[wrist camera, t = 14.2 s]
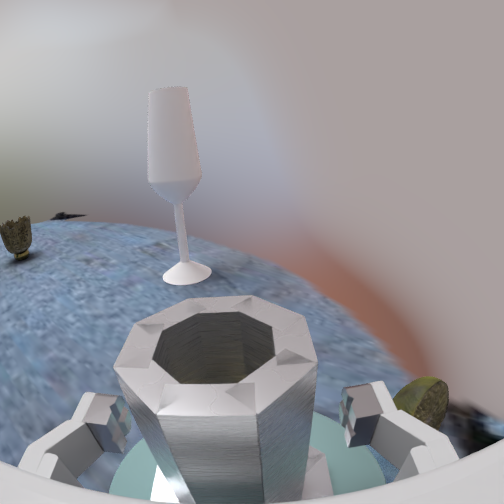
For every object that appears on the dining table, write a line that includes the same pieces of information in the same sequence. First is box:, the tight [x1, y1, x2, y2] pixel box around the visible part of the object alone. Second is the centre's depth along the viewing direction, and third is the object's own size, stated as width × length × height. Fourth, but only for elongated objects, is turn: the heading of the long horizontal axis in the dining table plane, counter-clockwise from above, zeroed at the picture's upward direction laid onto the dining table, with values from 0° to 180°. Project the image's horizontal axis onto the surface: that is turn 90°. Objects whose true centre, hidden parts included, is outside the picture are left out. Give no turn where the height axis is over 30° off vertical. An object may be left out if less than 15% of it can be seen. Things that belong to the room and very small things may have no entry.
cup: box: [0, 216, 32, 261], centre depth 52 cm, size 7×7×8 cm
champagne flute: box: [148, 87, 211, 285], centre depth 39 cm, size 7×7×24 cm
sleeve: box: [113, 295, 334, 504], centre depth 10 cm, size 8×8×10 cm
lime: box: [393, 377, 449, 431], centre depth 16 cm, size 4×5×5 cm
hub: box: [109, 411, 386, 500], centre depth 12 cm, size 14×14×6 cm
